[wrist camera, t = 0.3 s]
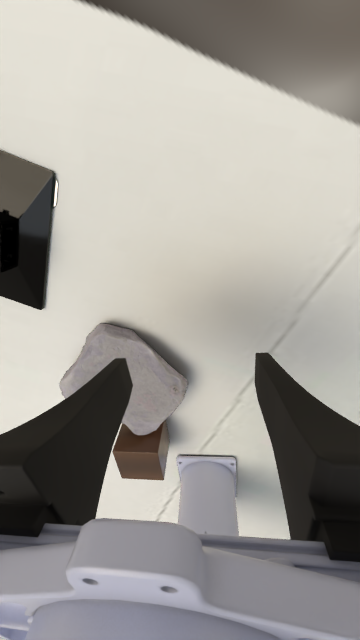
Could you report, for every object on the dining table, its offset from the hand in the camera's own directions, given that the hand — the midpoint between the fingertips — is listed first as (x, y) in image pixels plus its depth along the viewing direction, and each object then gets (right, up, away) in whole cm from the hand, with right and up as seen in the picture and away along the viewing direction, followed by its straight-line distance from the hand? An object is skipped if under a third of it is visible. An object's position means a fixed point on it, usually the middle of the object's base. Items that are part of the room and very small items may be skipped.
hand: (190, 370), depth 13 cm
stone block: (-6, -2, +13) cm, 15 cm away
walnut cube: (-5, -11, +18) cm, 21 cm away
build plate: (-15, +10, +8) cm, 20 cm away
